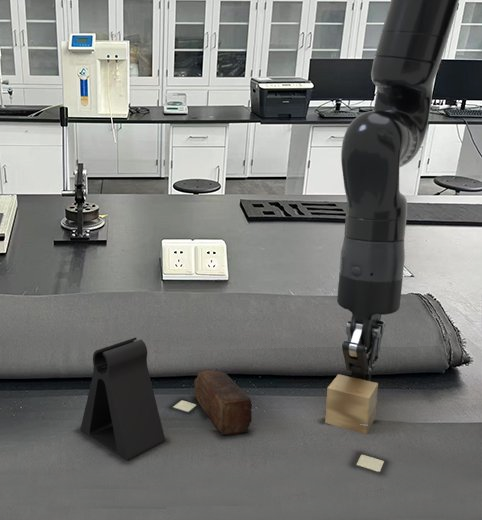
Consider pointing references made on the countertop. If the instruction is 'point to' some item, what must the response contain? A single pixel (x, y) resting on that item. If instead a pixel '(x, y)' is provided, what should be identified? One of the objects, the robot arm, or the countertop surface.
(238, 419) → the brick
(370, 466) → the line marks
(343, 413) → the birch block
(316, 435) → the countertop surface
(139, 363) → the phone stand
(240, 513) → the countertop surface
